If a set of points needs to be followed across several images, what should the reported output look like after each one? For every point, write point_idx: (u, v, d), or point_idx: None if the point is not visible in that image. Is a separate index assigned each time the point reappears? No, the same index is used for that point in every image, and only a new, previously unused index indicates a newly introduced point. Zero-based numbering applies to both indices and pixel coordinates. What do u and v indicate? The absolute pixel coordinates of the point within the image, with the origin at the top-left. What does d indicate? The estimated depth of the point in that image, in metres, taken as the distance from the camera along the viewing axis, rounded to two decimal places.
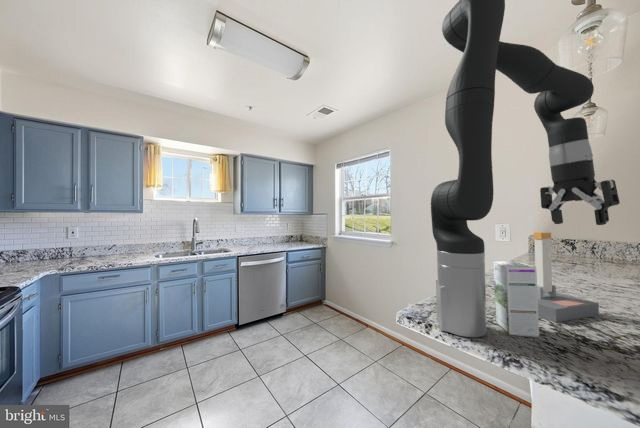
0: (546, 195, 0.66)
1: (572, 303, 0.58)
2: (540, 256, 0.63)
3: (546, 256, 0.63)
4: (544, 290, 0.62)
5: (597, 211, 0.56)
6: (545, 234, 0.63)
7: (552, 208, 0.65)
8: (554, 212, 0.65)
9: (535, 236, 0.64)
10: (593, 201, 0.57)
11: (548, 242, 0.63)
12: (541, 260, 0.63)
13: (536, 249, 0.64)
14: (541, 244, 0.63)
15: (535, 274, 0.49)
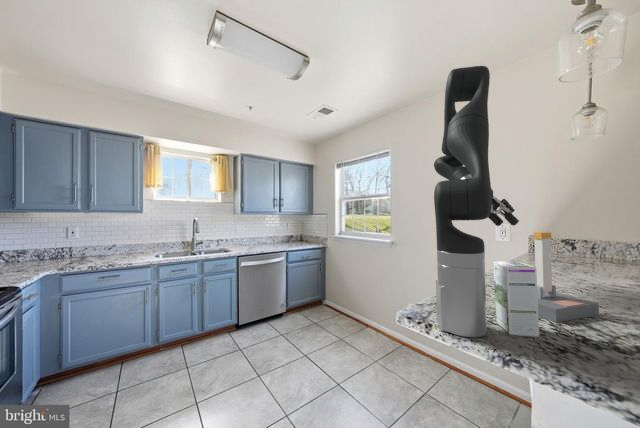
0: None
1: (572, 303, 0.58)
2: (540, 256, 0.63)
3: (546, 256, 0.63)
4: (544, 290, 0.62)
5: (511, 213, 0.75)
6: (545, 234, 0.63)
7: (492, 211, 0.74)
8: (495, 213, 0.73)
9: (535, 236, 0.64)
10: (505, 207, 0.76)
11: (548, 242, 0.63)
12: (541, 260, 0.63)
13: (536, 249, 0.64)
14: (541, 244, 0.63)
15: (535, 274, 0.49)
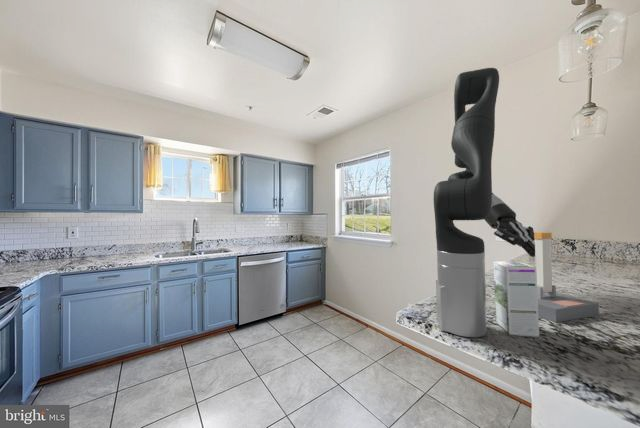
0: None
1: (572, 303, 0.58)
2: (540, 256, 0.63)
3: (546, 256, 0.63)
4: (544, 290, 0.62)
5: None
6: (545, 234, 0.63)
7: (526, 239, 0.67)
8: (529, 243, 0.66)
9: (535, 236, 0.64)
10: (527, 235, 0.68)
11: (548, 242, 0.63)
12: (541, 260, 0.63)
13: (536, 249, 0.64)
14: (541, 244, 0.63)
15: (535, 274, 0.49)
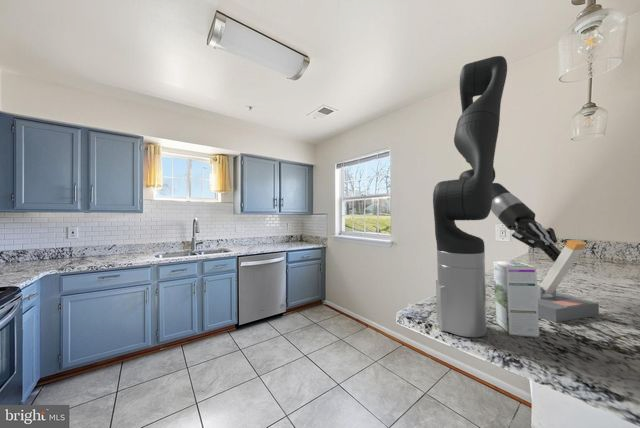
0: None
1: (572, 303, 0.58)
2: (561, 264, 0.58)
3: (567, 265, 0.58)
4: (546, 292, 0.62)
5: None
6: (580, 245, 0.56)
7: (547, 242, 0.62)
8: (551, 246, 0.61)
9: (567, 244, 0.57)
10: (548, 237, 0.63)
11: (578, 253, 0.57)
12: (559, 268, 0.59)
13: (560, 256, 0.59)
14: (569, 254, 0.57)
15: (535, 274, 0.49)
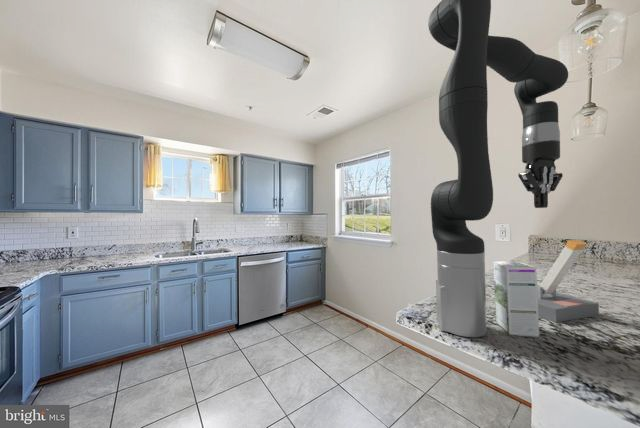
0: None
1: (572, 303, 0.58)
2: (561, 264, 0.58)
3: (567, 265, 0.58)
4: (546, 292, 0.62)
5: (547, 195, 0.63)
6: (580, 245, 0.56)
7: (544, 191, 0.63)
8: (544, 195, 0.63)
9: (567, 244, 0.57)
10: (549, 185, 0.63)
11: (578, 253, 0.57)
12: (559, 268, 0.59)
13: (560, 256, 0.58)
14: (569, 254, 0.57)
15: (535, 274, 0.49)
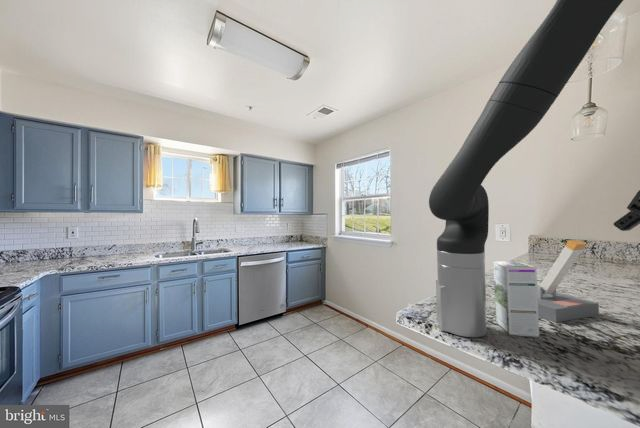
0: None
1: (572, 303, 0.58)
2: (561, 264, 0.58)
3: (567, 265, 0.58)
4: (546, 292, 0.62)
5: None
6: (580, 245, 0.56)
7: None
8: None
9: (567, 244, 0.57)
10: None
11: (578, 253, 0.57)
12: (559, 268, 0.59)
13: (560, 256, 0.58)
14: (569, 254, 0.57)
15: (535, 274, 0.49)
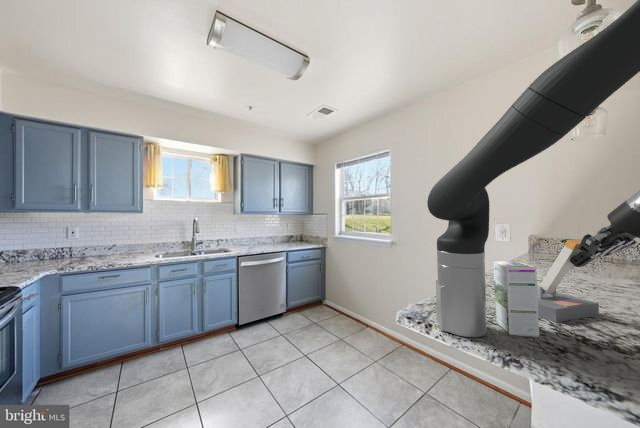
0: None
1: (572, 303, 0.58)
2: (560, 264, 0.59)
3: (566, 265, 0.58)
4: (546, 292, 0.62)
5: (593, 259, 0.54)
6: None
7: (595, 256, 0.53)
8: (591, 259, 0.54)
9: (567, 244, 0.57)
10: (607, 252, 0.53)
11: (577, 252, 0.57)
12: (559, 268, 0.59)
13: (560, 256, 0.59)
14: (569, 254, 0.57)
15: (535, 274, 0.49)
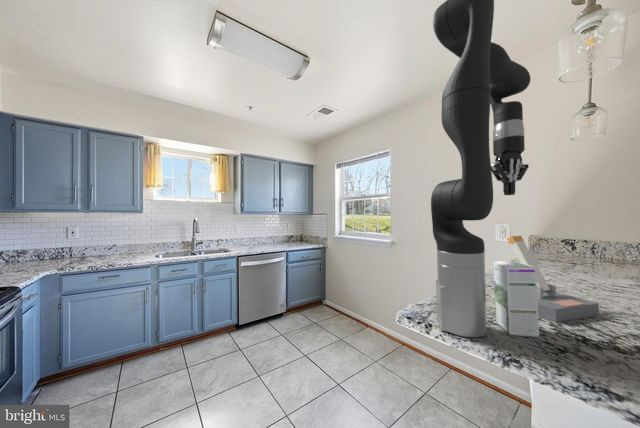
0: None
1: (572, 303, 0.58)
2: (522, 257, 0.67)
3: (527, 256, 0.67)
4: None
5: (514, 183, 0.72)
6: (516, 237, 0.70)
7: (511, 180, 0.71)
8: (512, 183, 0.71)
9: (509, 241, 0.71)
10: (516, 175, 0.72)
11: (522, 244, 0.69)
12: (524, 260, 0.67)
13: (516, 252, 0.69)
14: (517, 246, 0.69)
15: (535, 274, 0.49)
